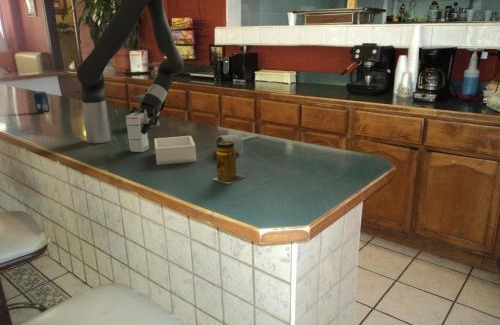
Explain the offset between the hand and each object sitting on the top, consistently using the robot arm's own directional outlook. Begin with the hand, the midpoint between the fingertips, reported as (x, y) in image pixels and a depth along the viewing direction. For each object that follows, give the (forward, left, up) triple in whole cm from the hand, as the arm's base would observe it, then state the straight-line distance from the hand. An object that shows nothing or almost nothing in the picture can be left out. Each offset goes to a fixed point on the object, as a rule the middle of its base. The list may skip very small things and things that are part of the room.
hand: (135, 131), depth 154 cm
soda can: (-54, +95, -8) cm, 110 cm away
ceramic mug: (+33, -14, -8) cm, 37 cm away
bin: (+14, -13, -8) cm, 21 cm away
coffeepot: (+7, +42, -8) cm, 43 cm away
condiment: (+29, -40, -8) cm, 50 cm away
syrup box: (+1, +1, -8) cm, 8 cm away
